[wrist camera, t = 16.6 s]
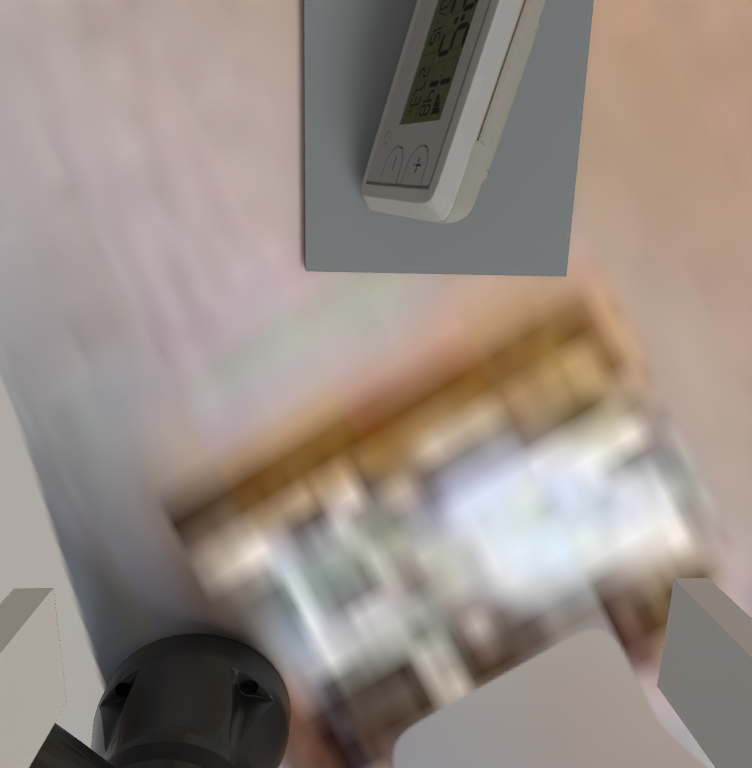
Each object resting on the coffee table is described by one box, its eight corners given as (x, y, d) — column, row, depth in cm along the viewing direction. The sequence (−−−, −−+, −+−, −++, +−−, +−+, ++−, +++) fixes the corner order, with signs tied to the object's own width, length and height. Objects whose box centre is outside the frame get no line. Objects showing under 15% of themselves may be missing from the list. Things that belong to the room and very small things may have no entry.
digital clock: (445, -68, 36) (488, -191, 25) (566, 18, 37) (655, -66, 27) (317, 179, 39) (309, 158, 28) (435, 249, 40) (468, 253, 30)
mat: (561, 275, 42) (566, 276, 41) (306, 270, 41) (305, 271, 40) (597, -86, 37) (602, -93, 36) (304, -104, 35) (303, -111, 35)
